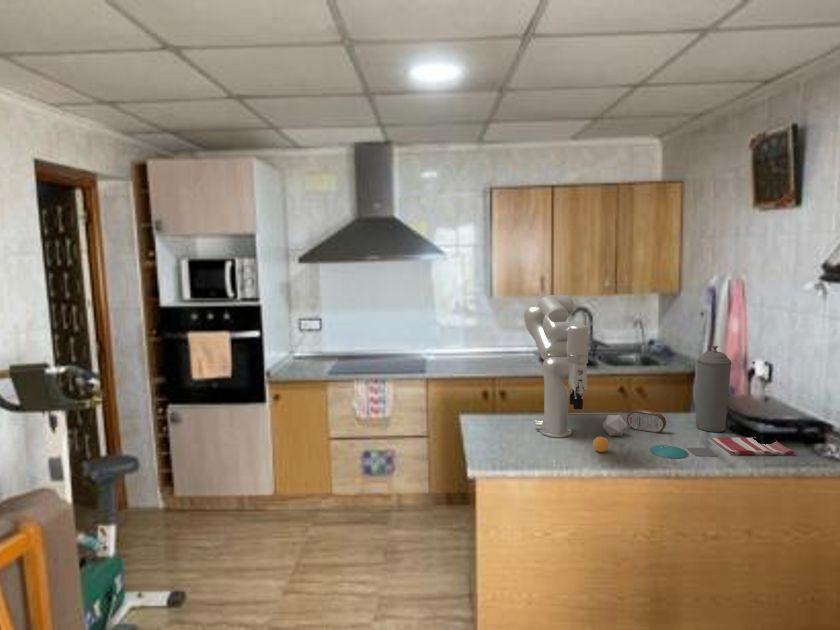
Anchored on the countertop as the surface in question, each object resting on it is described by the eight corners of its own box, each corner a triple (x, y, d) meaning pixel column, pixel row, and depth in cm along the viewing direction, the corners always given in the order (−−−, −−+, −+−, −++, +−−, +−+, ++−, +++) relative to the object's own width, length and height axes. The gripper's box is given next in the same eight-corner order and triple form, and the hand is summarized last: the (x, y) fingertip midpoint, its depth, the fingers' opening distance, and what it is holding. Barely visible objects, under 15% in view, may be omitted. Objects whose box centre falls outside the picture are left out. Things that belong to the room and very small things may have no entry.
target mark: (648, 455, 203) (648, 454, 203) (651, 443, 214) (651, 443, 214) (688, 460, 197) (688, 460, 197) (688, 448, 209) (688, 448, 209)
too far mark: (695, 456, 201) (695, 455, 201) (686, 448, 209) (686, 447, 209) (718, 456, 201) (718, 455, 201) (708, 448, 209) (708, 447, 209)
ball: (591, 452, 206) (592, 438, 205) (594, 448, 211) (594, 433, 210) (607, 455, 203) (607, 440, 202) (609, 450, 208) (610, 435, 207)
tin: (665, 432, 227) (666, 412, 226) (664, 435, 224) (665, 414, 223) (627, 426, 235) (628, 407, 234) (625, 428, 232) (626, 409, 231)
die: (622, 441, 220) (633, 419, 222) (603, 429, 221) (613, 408, 223) (615, 441, 228) (625, 420, 230) (596, 430, 229) (607, 410, 231)
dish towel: (795, 457, 201) (796, 450, 201) (730, 457, 201) (730, 450, 201) (767, 441, 218) (768, 434, 217) (707, 441, 218) (707, 434, 218)
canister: (694, 431, 228) (698, 347, 223) (692, 422, 239) (696, 342, 235) (729, 435, 223) (734, 349, 219) (725, 425, 235) (730, 344, 230)
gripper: (593, 363, 194) (592, 413, 197) (581, 353, 211) (580, 400, 214) (572, 363, 195) (571, 413, 197) (562, 354, 212) (561, 400, 214)
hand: (576, 406), depth 205 cm, fingers open, 5 cm apart
